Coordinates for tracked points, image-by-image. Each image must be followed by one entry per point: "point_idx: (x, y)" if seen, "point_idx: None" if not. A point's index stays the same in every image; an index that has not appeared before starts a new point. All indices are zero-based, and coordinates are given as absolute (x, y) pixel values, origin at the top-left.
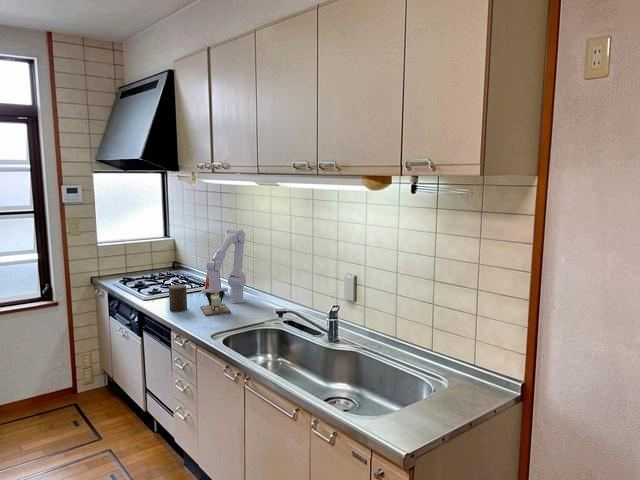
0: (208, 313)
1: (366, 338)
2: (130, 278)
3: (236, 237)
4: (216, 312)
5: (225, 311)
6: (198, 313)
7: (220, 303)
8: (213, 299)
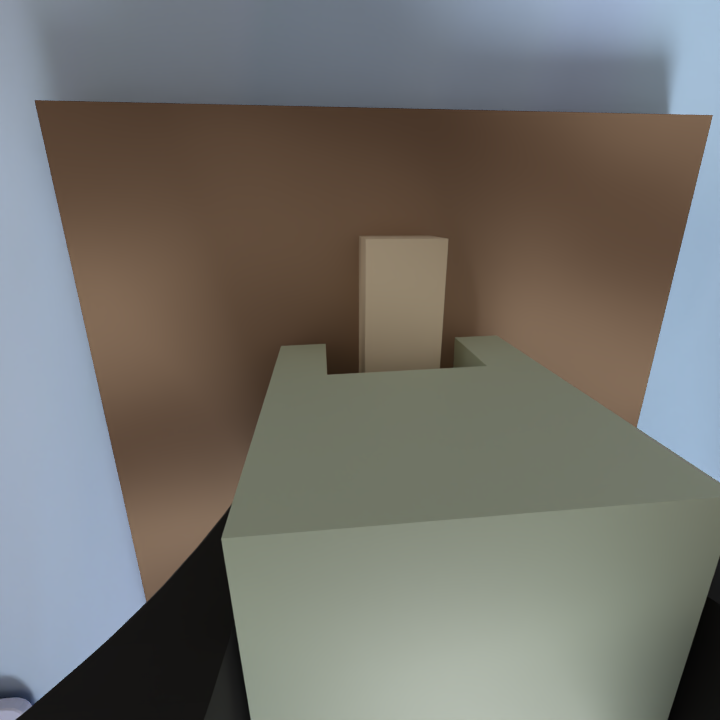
0: (631, 136)
1: None
2: None
3: None
4: (433, 138)
5: (188, 127)
6: (698, 370)
7: (276, 399)
8: (639, 493)
